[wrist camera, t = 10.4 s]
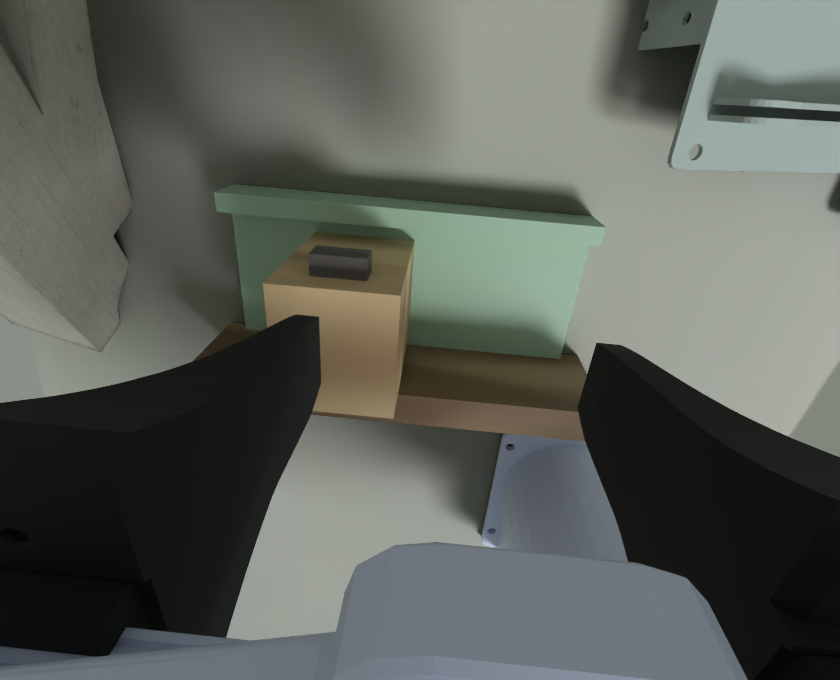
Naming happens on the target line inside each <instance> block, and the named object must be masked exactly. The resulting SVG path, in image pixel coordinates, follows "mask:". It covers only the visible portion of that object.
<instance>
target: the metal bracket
mask: <svg viewBox="0 0 840 680" xmlns="http://www.w3.org/2000/svg"><path fill="white" fill-rule="evenodd" d="M690 14H691V19H690V21H689V22H688V24H687V19H688V17H689V15H690ZM646 21H649V25H648V28H647V30H646V31H645V32H644V31H642V33H641V38H640V42H639V46H638V50H641V51H643V50H652V49H661V48H670V47H679V46H688V45H697V44H701V46H700V49H699V53H698V56H697V60H696V63H695V66H694V70H693V73H692V77H691V80H690V84H689V87H688V91H687V94H686V97H685V101H684V104H683V108H682V111H681V115H680V118H679V122H678V125H677V128H676V132H675V135H674V139H673V142H672V146H671V149H670V153H669V156H668V165H669V167H671V168H673V169H682V170H725V171H767V172H810V173H840V0H649V4H648V8H647V12H646V16H645V21H644V22H646ZM696 144H698V147H699V152H698V154H697V156H696V157H695V158H693V159H690V158H689V152H690V150H691V148H692V147H693V146H694V145H696Z"/></svg>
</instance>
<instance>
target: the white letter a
mask: <svg viewBox="0 0 840 680" xmlns="http://www.w3.org/2000/svg"><path fill="white" fill-rule="evenodd" d="M131 211H132V197H131V193H130V190H129V186H128V183H127V179H126V176H125V173H124V169H123V166H122V162H121V159H120V155H119V152H118V148H117V145H116V142H115V138H114V135H113V131H112V128H111V124H110V121H109V117H108V114H107V110H106V107H105V104H104V100H103V97H102V93H101V90H100V86H99V83H98V78H97V71H96V64H95V57H94V50H93V43H92V36H91V30H90V23H89V16H88V9H87V2H86V0H0V315H1V316H3V317H4V318H5V319H7V320H8V321H9V322H11V323H13V324H16V325H19V326H22V327H25V328H28V329H31V330H34V331H37V332H40V333H43V334H46V335H49V336H52V337H55V338H58V339H62V340H65V341H68V342H71V343H74V344H77V345H80V346H83V347H86V348H89V349H92V350H95V351H98V352H102V350H103V349H104V347H105V346H106V344H107V343H108V341H109V340H110V338H111V337H112V335H113V334H114V332H115V331H116V329H117V327H118V326H119V324H120V318H119V312H118V306H119V300H120V293H121V289H122V286H123V283H124V281H125V278H126V275H127V272H128V260H127V258H126V257H125V255H124V253H123V252H122V250H121V248H120V246H119V245H118V243H117V241H116V240H115V238H114V234H115V233H116V231H117V230H118V229H119V227H120V226H121V225H122V223H123V222H124V221H125V219H126V218H127V217H128V215H129V214H130V213H131Z"/></svg>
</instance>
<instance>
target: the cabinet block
mask: <svg viewBox="0 0 840 680" xmlns="http://www.w3.org/2000/svg"><path fill="white" fill-rule="evenodd" d="M414 243H415V240H405V239H394V238H383V237H371V236H360V235H349V234H337V233H326V232H315V233H314V234H313V235H311V236H310V237H309V238H308V239H307V240H306V241H305V242H304V243H303V244H302V245H301V246H300V247H299V248H298V249H297V250H296V251H295V252H294V253H293V254H292V255H291V256H290V257H289V258H288V259H287V260H286V261H285V262H284V263H283V264H282V265H281V266H280V267H279V268H278V269H277V270H276V271H275V272H274V273H273V274H272V275H271V276H270V277H269V278H268V279H267V280H266V281H265V282H264V283H263V291H264V301H265V311H266V321H267V328H268V327H270V326H272V325H274V324H276V323H278V322H280V321H282V320H284V319H286V318H288V317H290V316H293V315H307V316H317V317H319V329H320V359H321V385H320V389H319V392H318V395H317V399H316V402H315V405H314V408H313V411H317V412H328V413H338V414H348V415H359V416H369V417H380V418H390V419H394V413H395V408H396V402H397V397H398V391H399V386H400V380H401V375H402V369H403V363H404V358H405V352H406V347H407V341H408V331H409V316H410V302H411V287H412V272H413V257H414Z"/></svg>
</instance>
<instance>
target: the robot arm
mask: <svg viewBox="0 0 840 680" xmlns="http://www.w3.org/2000/svg"><path fill="white" fill-rule="evenodd" d="M320 385H321V359H320V329H319V317H317V316H307V315H293V316H290V317H288V318H286V319H284V320H282V321H280V322H278V323H276V324H274V325H272V326H270V327H268V328H266V329H264V330H262V331H260V332H258V333H256V334H254V335H252V336H250V337H248V338H246V339H244V340H242V341H240V342H238V343H236V344H233V345H231V346H229V347H227V348H224V349H222V350H220V351H218V352H216V353H213V354H211V355H209V356H206V357H204V358H201V359H199V360H196V361H193V362H191V363H188V364H185V365H182V366H179V367H176V368H173V369H170V370H167V371H164V372H160V373H157V374H153V375H149V376H146V377H142V378H138V379H135V380H131V381H127V382H123V383H119V384H115V385H110V386H106V387H101V388H96V389H91V390H86V391H80V392H75V393H69V394H64V395H57V396H51V397H44V398H36V399H28V400H20V401H13V402H5V403H0V680H840V457H837V456H835V455H832V454H829V453H827V452H825V451H822V450H819V449H817V448H814V447H812V446H810V445H807V444H805V443H802V442H800V441H797V440H795V439H792V438H790V437H788V436H785V435H783V434H781V433H779V432H776V431H774V430H772V429H770V428H768V427H766V426H764V425H761V424H759V423H757V422H755V421H753V420H751V419H749V418H747V417H745V416H743V415H741V414H739V413H737V412H735V411H733V410H731V409H729V408H727V407H725V406H724V405H722V404H720V403H718V402H717V401H715V400H713V399H711V398H709V397H708V396H706V395H704V394H702V393H701V392H699V391H697V390H696V389H694V388H692V387H691V386H689V385H687V384H686V383H684V382H682V381H681V380H679V379H677V378H676V377H674V376H673V375H671V374H669V373H668V372H666V371H665V370H663V369H662V368H660V367H658V366H657V365H655V364H654V363H652V362H650V361H649V360H647V359H645V358H644V357H642V356H640V355H639V354H637V353H635V352H634V351H632V350H630V349H628V348H626V347H624V346H621V345H614V344H603V343H596V347H595V350H594V353H593V357H592V360H591V363H590V367H589V370H588V374H587V377H586V380H585V384H584V387H583V390H582V394H581V397H580V401H579V404H578V407H577V408H578V413H579V418H580V423H581V427H582V431H583V435H584V439H585V441H576V440H566V439H556V438H546V437H535V436H525V435H515V434H505V433H503V435H502V439H501V444H500V449H499V454H498V459H497V463H496V468H495V473H494V478H493V483H492V488H491V492H490V497H489V502H488V507H487V512H486V517H485V521H484V526H483V531H482V536H481V537H482V543H483V544H484V545H486V546H491V547H497V548H489V547H479V546H470V545H460V544H450V543H440V542H432V543H419V544H405V545H395V546H393V547H390V548H389V549H387V550H385V551H383V552H381V553H379V554H377V555H375V556H374V557H372V558H370V559H368V560H366V561H364V562H362V563H361V564H359V565H357V566H356V568H355V570H354V573H353V575H352V577H351V579H350V581H349V584H348V586H347V588H346V590H345V594H344V598H343V603H342V608H341V612H340V617H339V621H338V626H337V631H336V632H329V633H319V634H309V635H300V636H290V637H280V638H271V639H261V640H252V641H249V640H240V639H231V638H226V636H227V632H228V629H229V625H230V622H231V619H232V615H233V612H234V609H235V606H236V602H237V599H238V596H239V593H240V590H241V586H242V583H243V580H244V577H245V574H246V570H247V567H248V564H249V561H250V558H251V555H252V552H253V549H254V547H255V544H256V541H257V538H258V535H259V532H260V529H261V526H262V523H263V520H264V518H265V515H266V512H267V509H268V506H269V504H270V501H271V498H272V495H273V493H274V491H275V488H276V486H277V484H278V481H279V479H280V477H281V475H282V473H283V471H284V469H285V467H286V465H287V463H288V461H289V459H290V457H291V455H292V453H293V451H294V449H295V447H296V445H297V443H298V441H299V439H300V437H301V434H302V432H303V430H304V428H305V426H306V424H307V422H308V420H309V418H310V416H311V413H312V411H313V408H314V405H315V402H316V399H317V395H318V392H319V389H320ZM508 444H513V445H512V446H506V445H508ZM490 528H493V529H490Z"/></svg>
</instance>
